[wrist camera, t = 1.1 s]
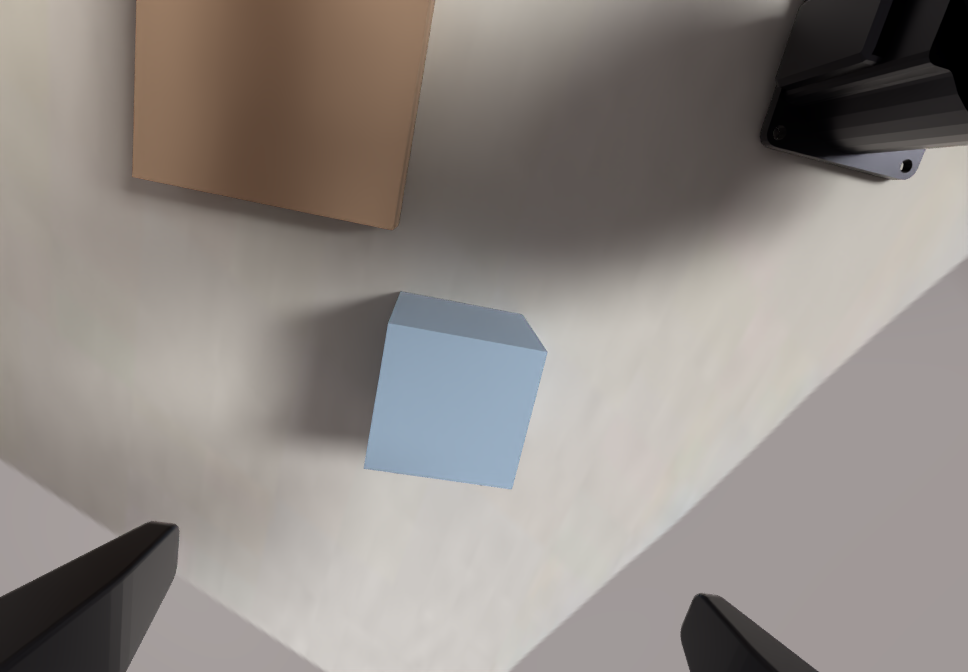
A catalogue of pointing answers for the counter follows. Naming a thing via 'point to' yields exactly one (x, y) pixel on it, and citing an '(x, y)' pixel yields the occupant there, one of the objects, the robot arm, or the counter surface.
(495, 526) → the counter surface
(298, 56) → the walnut block
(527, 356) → the slate cube
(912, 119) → the robot arm
